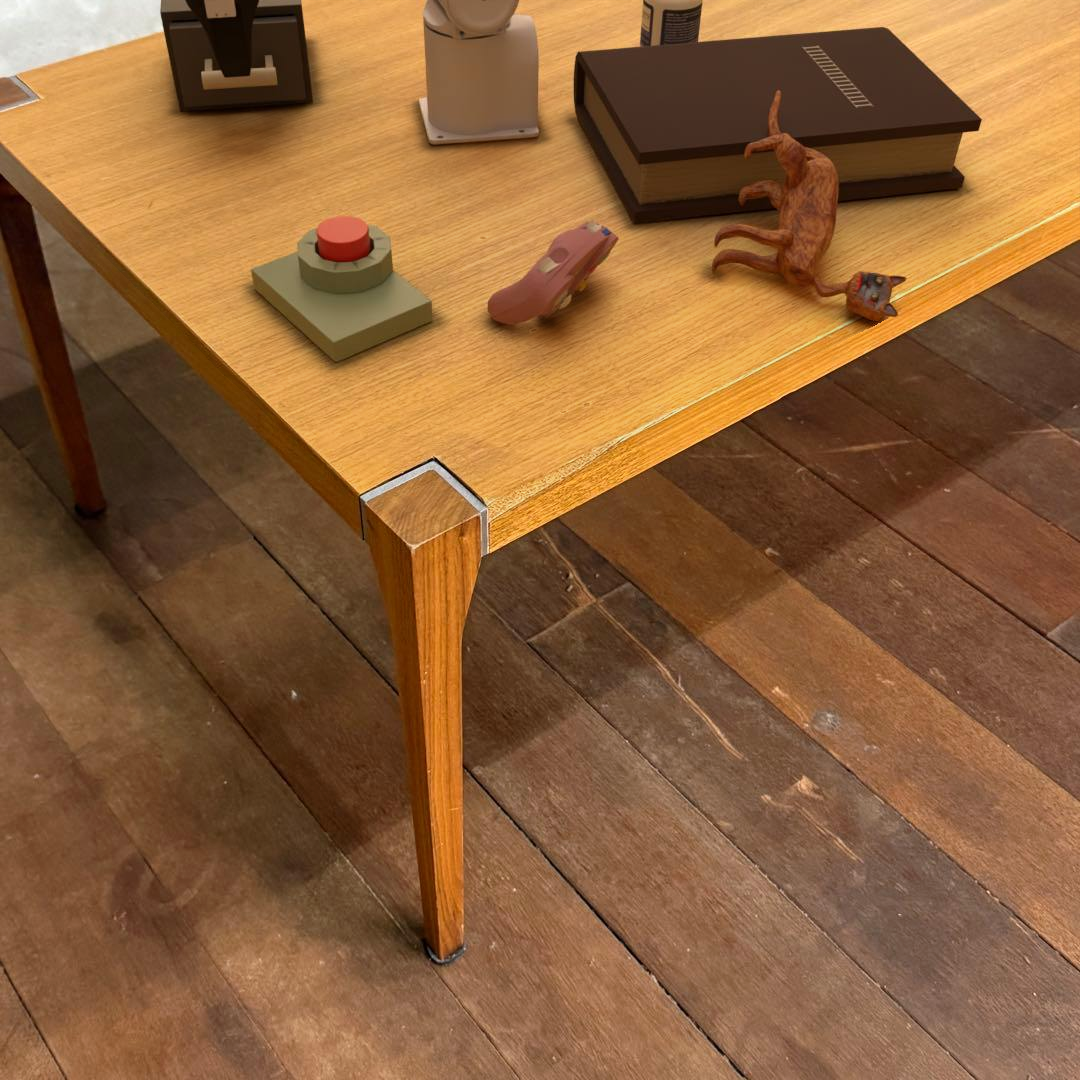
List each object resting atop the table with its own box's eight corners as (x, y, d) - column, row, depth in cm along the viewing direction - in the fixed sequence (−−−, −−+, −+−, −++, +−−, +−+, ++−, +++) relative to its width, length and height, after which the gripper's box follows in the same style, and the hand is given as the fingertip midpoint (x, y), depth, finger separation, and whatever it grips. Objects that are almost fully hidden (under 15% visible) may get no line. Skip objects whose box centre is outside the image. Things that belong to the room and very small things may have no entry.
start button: (309, 248, 86) (306, 226, 84) (352, 231, 87) (350, 209, 86) (336, 270, 84) (334, 248, 82) (380, 253, 85) (378, 231, 84)
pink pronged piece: (526, 356, 85) (567, 295, 79) (477, 313, 85) (515, 249, 79) (596, 290, 91) (640, 229, 85) (551, 249, 91) (591, 185, 85)
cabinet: (313, 102, 108) (301, 4, 102) (179, 111, 106) (159, 12, 100) (305, 43, 116) (294, -51, 110) (182, 50, 115) (163, -45, 109)
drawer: (308, 121, 103) (299, 42, 99) (184, 130, 102) (168, 50, 97) (299, 44, 114) (290, -31, 109) (186, 50, 113) (172, -25, 108)
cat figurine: (767, 56, 90) (953, 91, 88) (759, 117, 96) (932, 151, 94) (707, 256, 84) (904, 299, 82) (702, 307, 90) (885, 348, 88)
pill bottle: (705, 64, 115) (718, -43, 108) (678, 85, 112) (690, -24, 105) (655, 50, 117) (664, -56, 110) (627, 70, 114) (635, -38, 107)
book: (864, 83, 112) (878, 18, 108) (961, 187, 99) (981, 119, 95) (572, 109, 107) (575, 43, 103) (633, 223, 94) (639, 152, 90)
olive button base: (254, 289, 87) (246, 246, 85) (356, 249, 91) (352, 207, 89) (335, 363, 81) (330, 319, 79) (441, 317, 85) (439, 274, 83)
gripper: (151, -143, 91) (186, 38, 100) (144, -74, 81) (184, 119, 91) (247, -147, 92) (272, 32, 101) (251, -79, 82) (279, 112, 92)
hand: (237, 73), depth 96 cm, fingers closed
